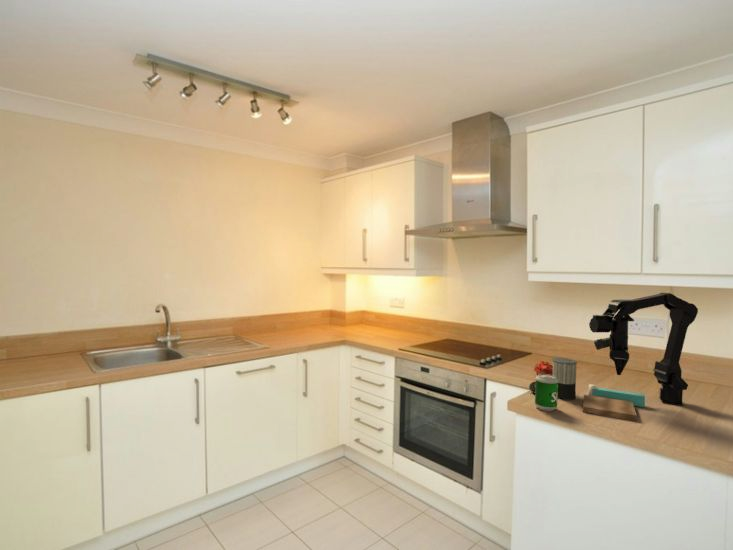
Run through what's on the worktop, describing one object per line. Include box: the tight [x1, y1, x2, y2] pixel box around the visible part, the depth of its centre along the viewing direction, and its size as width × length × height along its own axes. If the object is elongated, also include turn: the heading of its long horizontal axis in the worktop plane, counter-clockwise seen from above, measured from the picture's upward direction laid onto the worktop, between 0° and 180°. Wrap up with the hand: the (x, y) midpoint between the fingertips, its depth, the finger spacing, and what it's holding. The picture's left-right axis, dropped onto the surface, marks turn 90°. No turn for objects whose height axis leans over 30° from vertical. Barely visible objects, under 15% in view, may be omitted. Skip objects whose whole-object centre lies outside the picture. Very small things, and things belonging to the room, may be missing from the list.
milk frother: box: [528, 357, 578, 400], centre depth 162 cm, size 14×16×15 cm
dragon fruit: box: [533, 360, 553, 377], centre depth 187 cm, size 8×8×12 cm
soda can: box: [534, 374, 558, 412], centre depth 146 cm, size 8×8×12 cm
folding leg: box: [588, 384, 646, 408], centre depth 154 cm, size 18×3×5 cm, turn 61°
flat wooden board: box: [582, 394, 638, 422], centre depth 146 cm, size 16×16×2 cm
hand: (618, 372), depth 155 cm, fingers open, 9 cm apart
